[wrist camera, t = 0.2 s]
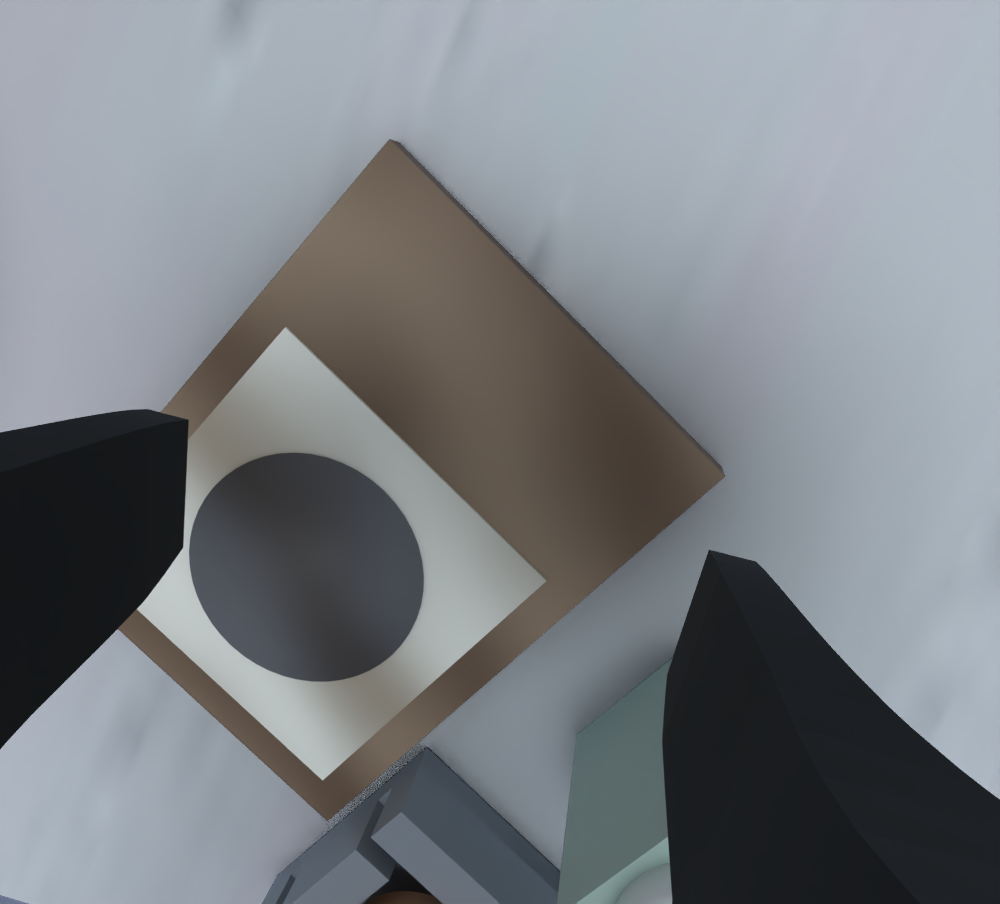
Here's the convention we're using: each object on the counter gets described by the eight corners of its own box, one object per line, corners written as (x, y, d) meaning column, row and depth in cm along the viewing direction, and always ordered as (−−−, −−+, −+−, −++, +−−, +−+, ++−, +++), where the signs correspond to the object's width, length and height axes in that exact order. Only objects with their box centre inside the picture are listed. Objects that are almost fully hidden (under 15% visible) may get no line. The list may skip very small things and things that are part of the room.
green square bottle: (677, 831, 24) (697, 1118, 16) (576, 735, 24) (548, 981, 16) (789, 750, 23) (868, 1017, 15) (685, 647, 22) (710, 867, 15)
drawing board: (336, 803, 25) (324, 826, 24) (58, 546, 24) (34, 559, 24) (721, 467, 21) (726, 478, 20) (398, 142, 20) (387, 138, 19)
